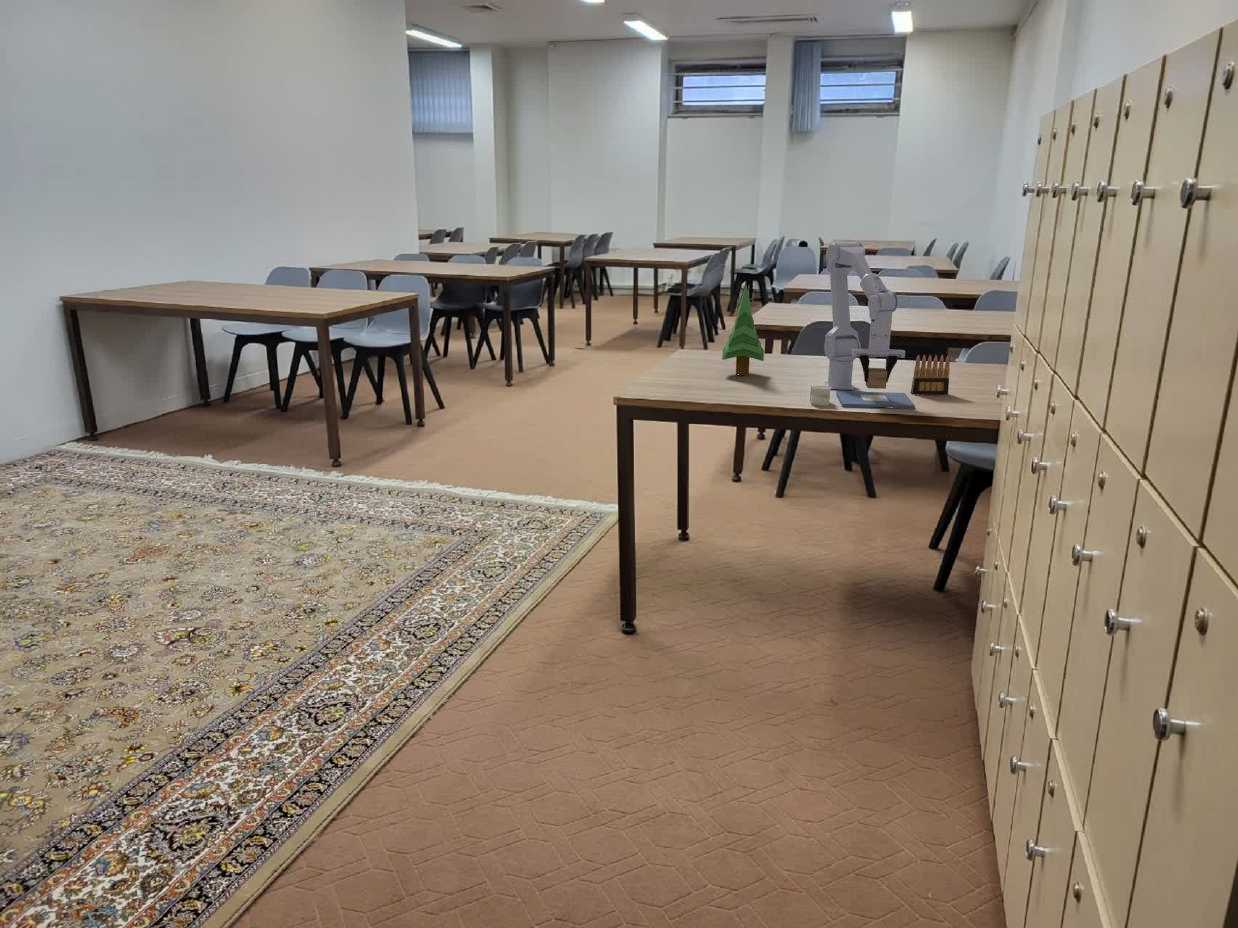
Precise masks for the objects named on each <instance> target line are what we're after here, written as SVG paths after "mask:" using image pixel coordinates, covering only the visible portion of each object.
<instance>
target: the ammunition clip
mask: <svg viewBox="0 0 1238 928" xmlns="http://www.w3.org/2000/svg"><path fill="white" fill-rule="evenodd" d="M939 358H940V359H939ZM939 358H938V355H937V354H935V356H934V359H933V358H932V354H929V356H928V359H927V357H926V354H923V357H922V360H921V357H920V354H918V355H917V357H916V360H915V365H914V370H913V377H912V383H911V389H910V394H911V395H913V394H919V396H929V395H930V396H933V395H935V396H948V395H949V387H950V386H949V383H950V378H949V377H950V369H951V368H950V365H951V364H950V360H951V358H950V355H949V354H947V356H946V358H944V354H941V356H940V357H939ZM932 359H933V360H932ZM938 359H939V360H938ZM944 360H945V361H944ZM944 362H945V363H944ZM938 363H939V364H938ZM921 394H922V395H921ZM923 394H924V395H923Z"/></svg>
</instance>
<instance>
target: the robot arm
mask: <svg viewBox="0 0 1238 928" xmlns="http://www.w3.org/2000/svg"><path fill="white" fill-rule="evenodd" d="M865 256H866V248H865V247H864V245H863V243H862V241H851V242H850V241H849V242H847V241H845V242H841V241H840V242H839V241H838V242H836V241H832V242H831V243H830V244H829V245H828V247H827V249H826V251H825V259H826V260H825V261H826V271H827V272H829V282H830V283H829V285H830V300H831V313H832V314H831V315H832V317H831V318H832V329H830V330H829V331H828V332H827V333H826V334H825V335H824V336H825V339H824V344H823V345H824V346H823V351H824V354H825V356H826V357H827V359H829V363H828V375H827V376H828V377H827V381H824V385H829V387H830V390H841V391H845V390H846V391H847V390H848V391H851V390H852V391H854V390H855V387H854V386H853V384H852V381H853V370H854V361H855V360H856V359H857V357H858V359H859V362H860V364H861V367H862V370H863V371H862V372H863V381H864V382H865V383H866V382H868V369H869V368H870V358H873V357H874V358H879V357H880V358H885V369H886V371H887V381H886V384H887V383H889V378H890V376H891V373H892V371H893V369H894V368H895V366H896V364H897V362H898V358H900V359H901V358H902V359H905V358H906V357H905V356H906V350H904V349H893V348H892V349H891V348H890V345H891V332H892V320H893V313H894V312H896V310H897V309H898V306H899V305H898V303H899V300H898V296H897V294H896V292H895V291H893V290H890V289H888V288H887V287H886V285H885V284H884V282H883V281H882V279H881V277H880V276H879V274H878V273H873V271H872V270H871V268H870V266H869V264H868V262H867V260H866V259H867V258H865ZM852 271H854V272H855V274H856V275H857V276H858V277H859V279H860V280H861V281H860V288H861V290H862V291H863V293H864V295H865V296H866V298H867V299H868V301H867V309H868V312H869V315H868V316H869V319H870V328H869V336H868V338H869V340H868V348H861V347H862V345H861V341H860V338H859V332H858V331H856V330H855V329H854V328H853V327H852V326H851V317H850V316H851V312H850V300H849V282H848V275H849V273H850V272H852Z"/></svg>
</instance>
